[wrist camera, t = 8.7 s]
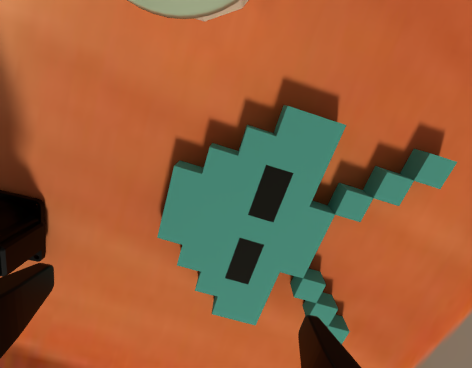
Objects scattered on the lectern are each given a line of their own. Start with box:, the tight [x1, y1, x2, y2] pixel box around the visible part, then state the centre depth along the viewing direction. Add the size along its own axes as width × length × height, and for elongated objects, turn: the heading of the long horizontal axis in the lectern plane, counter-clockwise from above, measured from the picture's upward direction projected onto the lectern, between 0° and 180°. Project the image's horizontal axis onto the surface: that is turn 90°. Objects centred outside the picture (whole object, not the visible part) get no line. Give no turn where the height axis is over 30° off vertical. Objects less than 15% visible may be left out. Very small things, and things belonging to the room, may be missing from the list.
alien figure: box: [157, 105, 457, 344], centre depth 21 cm, size 20×2×20 cm
